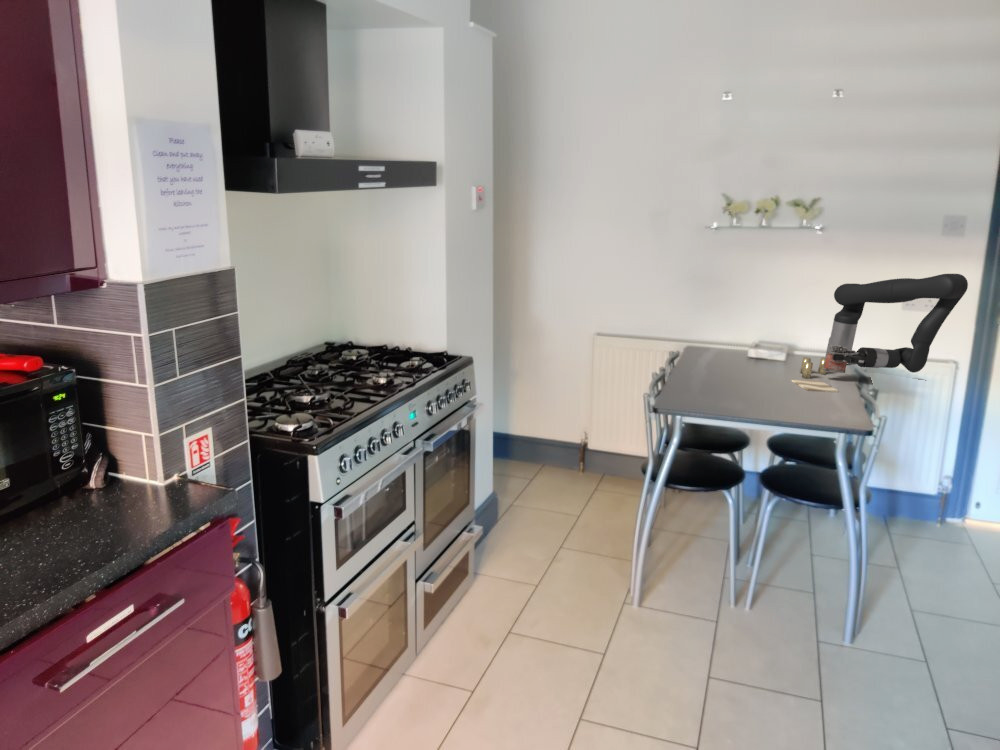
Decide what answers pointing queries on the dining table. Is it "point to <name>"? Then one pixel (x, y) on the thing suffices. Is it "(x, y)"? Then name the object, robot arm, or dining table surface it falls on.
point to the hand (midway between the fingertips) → (830, 355)
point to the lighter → (832, 364)
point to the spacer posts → (807, 367)
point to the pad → (814, 385)
